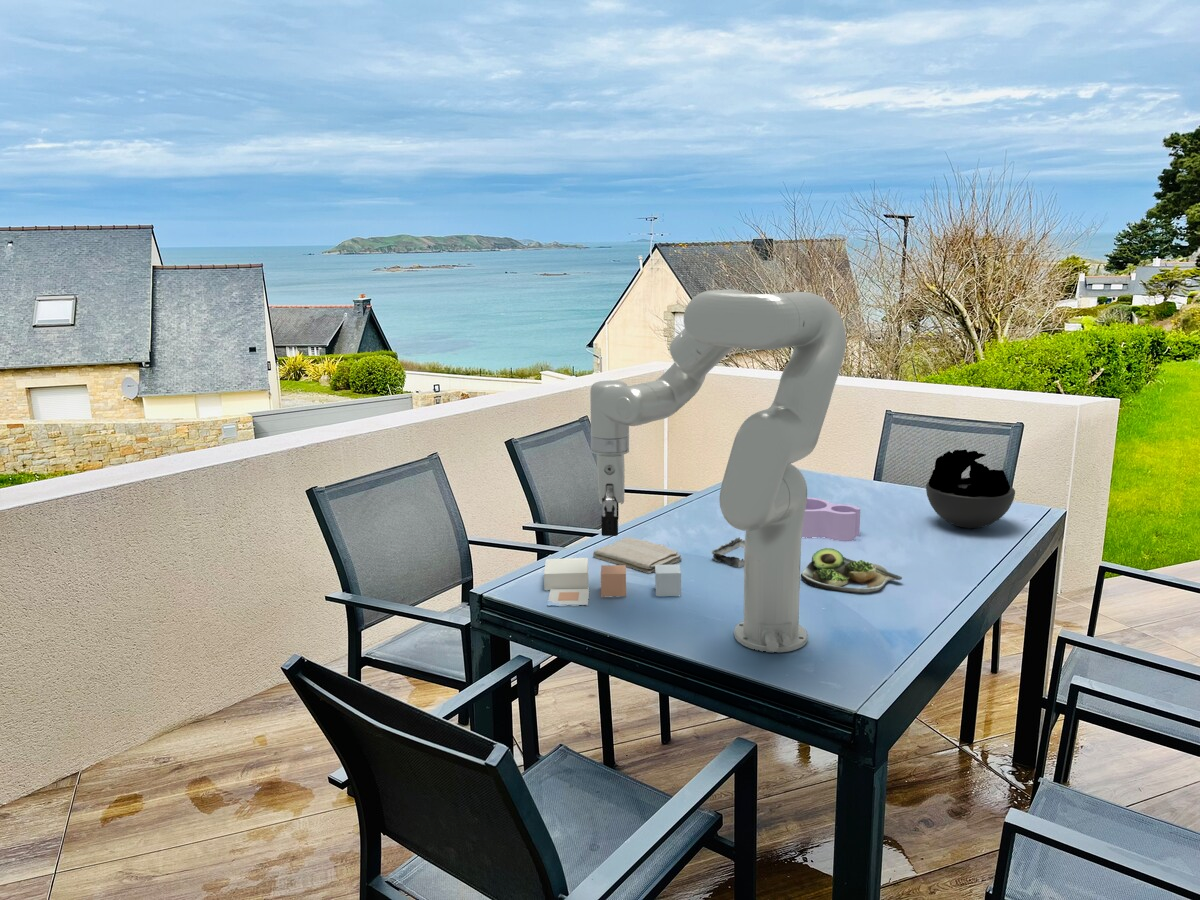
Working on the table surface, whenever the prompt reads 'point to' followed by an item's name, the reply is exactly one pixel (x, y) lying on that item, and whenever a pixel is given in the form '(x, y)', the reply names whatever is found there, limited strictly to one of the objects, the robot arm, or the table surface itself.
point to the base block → (566, 573)
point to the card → (569, 596)
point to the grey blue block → (668, 580)
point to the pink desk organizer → (830, 520)
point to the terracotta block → (613, 580)
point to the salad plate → (844, 573)
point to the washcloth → (637, 554)
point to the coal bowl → (968, 490)
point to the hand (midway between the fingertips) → (610, 527)
